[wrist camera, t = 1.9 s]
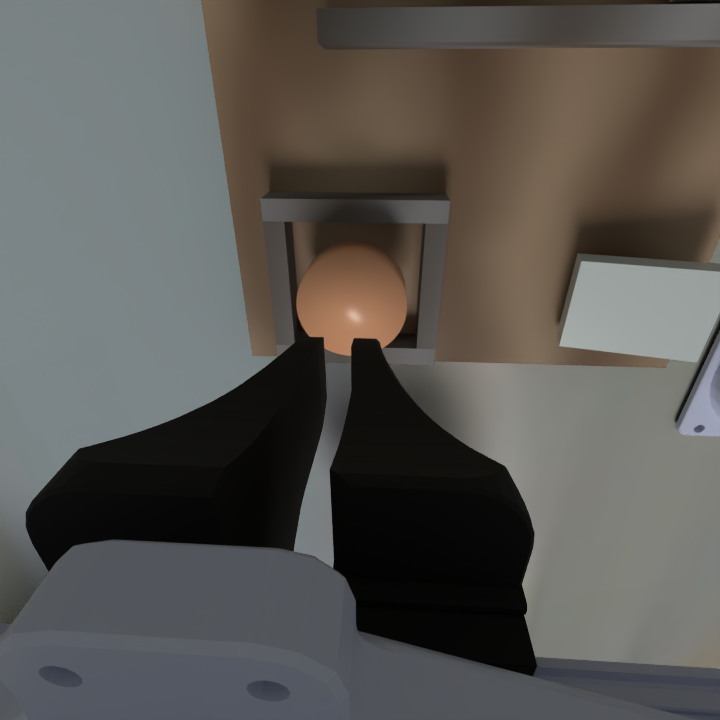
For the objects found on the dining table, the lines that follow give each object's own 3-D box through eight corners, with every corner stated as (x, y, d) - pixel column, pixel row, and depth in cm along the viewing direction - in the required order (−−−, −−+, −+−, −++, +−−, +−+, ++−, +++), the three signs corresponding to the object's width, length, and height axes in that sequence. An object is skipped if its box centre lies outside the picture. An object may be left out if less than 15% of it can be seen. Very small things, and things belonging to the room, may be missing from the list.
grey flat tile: (725, 264, 16) (737, 273, 15) (687, 350, 18) (697, 362, 17) (577, 253, 17) (581, 260, 16) (556, 335, 19) (559, 346, 18)
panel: (896, -327, 11) (1112, -509, 8) (643, 346, 22) (691, 393, 18) (182, -293, 12) (103, -443, 9) (263, 336, 23) (240, 378, 19)
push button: (408, 242, 16) (410, 254, 15) (403, 339, 18) (404, 357, 17) (299, 240, 16) (292, 252, 15) (306, 336, 18) (300, 354, 17)
